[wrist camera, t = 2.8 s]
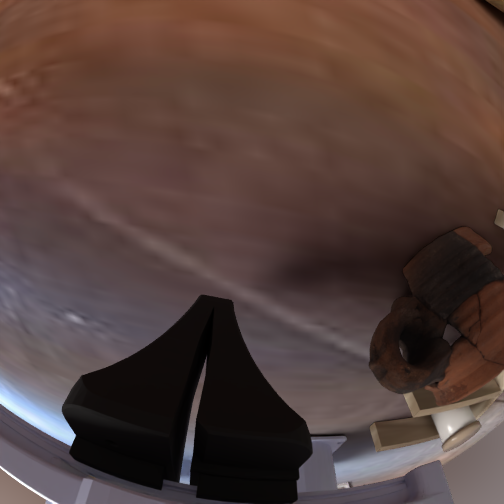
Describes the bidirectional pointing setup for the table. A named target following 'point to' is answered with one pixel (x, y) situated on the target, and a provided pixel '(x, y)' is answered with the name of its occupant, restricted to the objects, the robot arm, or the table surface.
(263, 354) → the table surface
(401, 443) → the bracket
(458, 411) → the cream jar
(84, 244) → the table surface
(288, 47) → the table surface
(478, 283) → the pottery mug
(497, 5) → the bread roll
